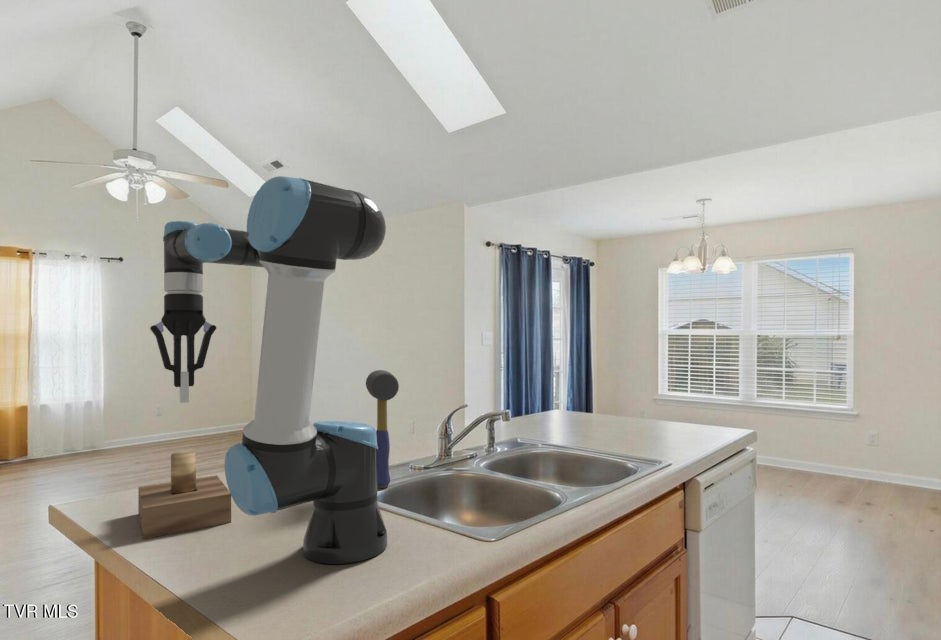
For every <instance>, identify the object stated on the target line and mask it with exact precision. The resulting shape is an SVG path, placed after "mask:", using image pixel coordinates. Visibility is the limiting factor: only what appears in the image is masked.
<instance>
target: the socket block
mask: <svg viewBox="0 0 941 640" xmlns="http://www.w3.org/2000/svg"><path fill="white" fill-rule="evenodd" d="M137 499H138V501H137V502H138V504H137V505H138V510H137V513H138V519H139V525H140V530H141V531H140V532H141V537H142V540H145V539H151V538H157V537H162V536H166V535H173V534H178V533H181V532H183V533H184V532H187V531H192V530H197V529H203V528H208V527H213V526H219V525H224V524H229V523H232V496H231V493H230V491H229V488H228V487H226V485H225V484H224V483H223V481H222V480H221V478H219V476H218V475H211V476H210V475H209V476H202V477H196V490H194V491H193V492H187V493H180V494H173V493H171V481H168V482H162V483H160V482H159V483H156V484H154V483H153V484H148V485H141V486H138V498H137Z"/></svg>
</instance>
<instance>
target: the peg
mask: <svg viewBox="0 0 941 640" xmlns="http://www.w3.org/2000/svg"><path fill="white" fill-rule="evenodd" d="M196 478H197V452H196V451H194V450H185V451H177V452H174V453H171V454H170V482H171V493H173V494H180V493H187V492H193V491H194V490H196Z"/></svg>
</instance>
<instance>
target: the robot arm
mask: <svg viewBox="0 0 941 640" xmlns="http://www.w3.org/2000/svg"><path fill="white" fill-rule="evenodd" d="M385 220H386V219H385V217H384V214H383V212H382V211H381V209H380V207H379V206H378V204H377V203H376V202H375V201H374V200H373V199H371V198H370V197H369V196H367V195H365V194H364V193H361V192H358V191H355V190H350V189H345V188H341V187H336V186H332V185H328V184H324V183H320V182H317V181H313V180H309V179H305V178H301V177H299V178H298V177H289V176H280V175H278V176H274V177H271V178H269V179H268V180H266V181H265V182H263V184H262V185H261V186H260V187H259V189H258V190H257V191H256V193H255V195H254V196H253V199H252V201H251V204H250V206H249V208H248V213H247V219H246V231H244V230H237V229H232V228H231V229H230V228H224V227H223V226H222V225H220V224H218V223H214V222H208V223H206V222H204V223H203V222H202V223H200V224H199V223H196V222H193V221H186V220H185V221H184V220H175V221H169V222H166V223H165V224H164V231H163V233H164V234H163V237H162V239H163V267H164V268H163V269H164V270H163V271H164V272H163V275H164V276H163V277H164V278H163V291H164V292H165V293H166V294H165V295H164V296H163V316H162V317H161V321H159V322H158V323H156V324H154V325H151V326H150V327H149V328H150V329H149V330H150V332H152V334H153V335H154V337H155V339H156V343H157V346H158V351H159V354H160V357H161V361H162V364H163V368H164V370H166V371H167V370H169V371H170V372H173V386H174V387H175V388H179V403H181V404H182V403H183V404H185V403H189V401H190V398H189V397H190V389H189V388H190V387H194V385H195V372H196V371H197V370H200V369H202V368H204V365H205V361H206V358H207V354H208V350H209V346H210V342H211V338H212V335H213V334H214V333H215V332H216V330H217V326H216V325H214V324H211V323H209V322H208V321H206V318H205V315H204V296H203V295H202V294H201V293H203V292H204V271H203V270H204V269H203V268H204V264H206V263H208V264H219V265H221V264H222V265H233V266H247V267H256V268H264V269H265V270H266V272H267V274H268V276H267V284H266V285H267V286H266V297H265V304H264V305H265V307H264V308H265V309H264V316H263V326H262V327H263V328H262V336H261V346H260V358H259V365H258V376H257V388H256V396H255V397H256V399H255V410H254V417H253V419H252V420H251V421H249V422H248V423H247V424H246V425H244V427H243V428H242V438H241V443H239V442H238V443H235V444H234V445H231V446H230V447H229V448H228V449H227V452H226V453H225V458H224V473H225V474H224V475H225V480H226V485H227V489H228V490H229V492H230V493H231V499H232V500H233V502H234V504H236V505H235V506H237V508H238V509H239V510H240V511H241V512H243V513H244V514H245V515H248V516H250V517H251V516H252V517H253V516H254V517H256V516H261V515H264V514H275V513H277V512H279V511H281V510H284V509H288V508H293V507H295V506H299V505H303V504H306V503H310V502H312V504H313V506H312V507H313V508H312V511H311V515H310V517H309V521H308V524H307V528H306V530H305V534H304V537H303V542H302V543H303V546H302V551H303V555H304V557H305V558H306V559H308V560H310V561H313V562H315V563H320V564H326V565H327V564H328V565H342V564H343V565H345V564H351V563H357V562H362V561H365V560H368V559H371V558H373V557H376V556H378V555H380V554H381V553H383V552H384V551H385V550H386V548H387V546H388V531H387V527H386V524H385V521H384V519H383V516H382V513H381V510H380V507H379V503H378V487H377V450H378V446H377V436H376V431H377V429H375V428H374V426H372V425H371V424H368V423H361V422H353V421H339V420H337V421H336V420H320V421H315V422H314V423H311V421H310V416H311V415H310V413H311V405H312V398H313V396H312V395H313V386H314V378H315V369H316V362H317V350H318V343H319V334H320V325H321V315H322V304H323V297H324V289H325V288H324V287H325V286H324V285H325V281H326V279H327V278H328V277H329V276H331V275H332V274H334V273H335V272H336V267H337V260H341V261H342V260H343V261H347V260H350V261H351V260H352V261H353V260H354V261H356V260H357V261H358V260H363V259H366V258H368V257H370V256H371V255H374V254H375V253H376V252H377V251H378V250H379V249H380V247H381V246H382V244H383V243H384V240H385V235H386V229H387V226H386V221H385ZM164 327H165V329H166V330H167V331H168V332H169V334H170V335H172V336H173V364H172V363H171V359H170V357H169V352H168V349H167V345H166V342H165V338H164V336H163V332H164ZM202 327H203V329H202V331H203V332H204V334H203V337H202V341H201V345H200V348H199V351H198V352H199V353H198V355H197V356H198V357H197V360H196V363H195V338H196V337H195V336H196V335H197V333H198V332H199V331H200V330H201V328H202ZM182 336H186V371H182Z"/></svg>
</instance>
